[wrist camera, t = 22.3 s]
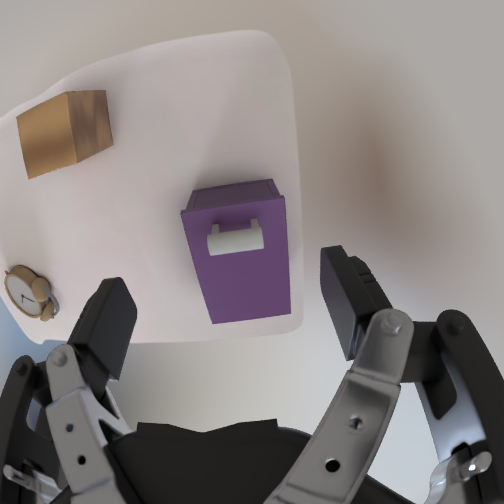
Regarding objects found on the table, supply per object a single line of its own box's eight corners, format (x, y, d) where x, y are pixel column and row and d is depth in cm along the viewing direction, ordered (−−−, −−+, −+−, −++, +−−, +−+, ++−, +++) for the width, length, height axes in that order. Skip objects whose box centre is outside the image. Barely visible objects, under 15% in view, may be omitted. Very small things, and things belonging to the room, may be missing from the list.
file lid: (181, 209, 28) (172, 234, 24) (283, 194, 28) (294, 216, 24) (212, 320, 37) (211, 350, 32) (289, 309, 37) (297, 339, 32)
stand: (59, 107, 27) (16, 116, 18) (105, 90, 27) (66, 91, 18) (68, 157, 31) (28, 179, 22) (113, 145, 31) (78, 163, 23)
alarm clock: (-2, 266, 36) (44, 294, 36) (13, 254, 40) (59, 279, 41) (11, 307, 41) (56, 335, 42) (23, 294, 45) (67, 320, 46)
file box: (192, 190, 36) (183, 215, 29) (272, 178, 36) (283, 201, 29) (214, 282, 44) (212, 320, 37) (280, 273, 44) (289, 309, 37)
